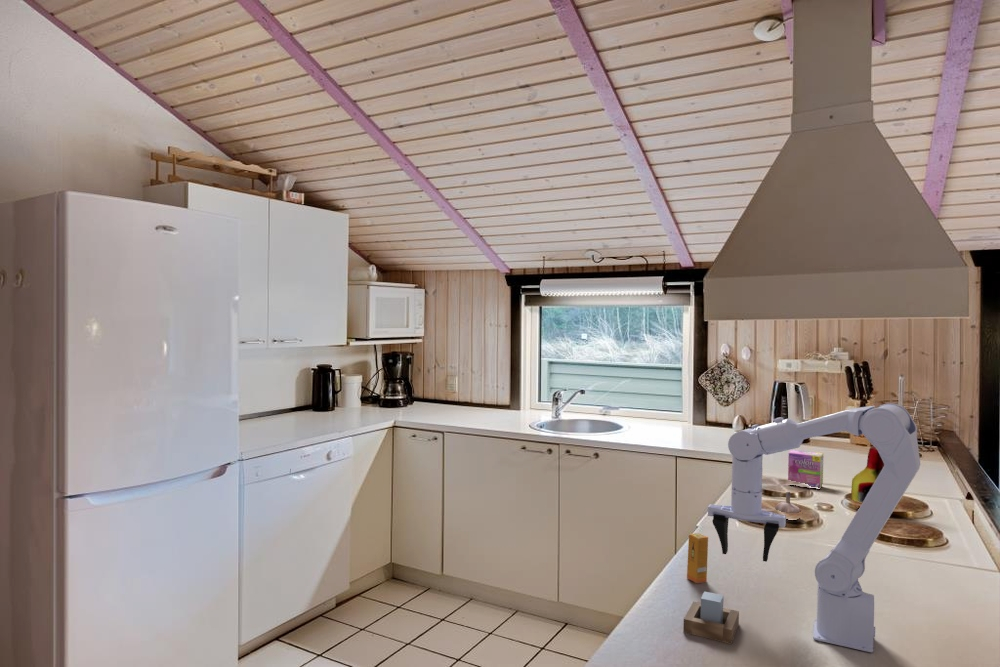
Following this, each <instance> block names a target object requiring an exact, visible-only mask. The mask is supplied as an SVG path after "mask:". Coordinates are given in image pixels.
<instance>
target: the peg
mask: <svg viewBox="0 0 1000 667" xmlns="http://www.w3.org/2000/svg"><path fill="white" fill-rule="evenodd" d="M700 603H701V618H700V619H702V620H706V621H711V622H715V623H719V624H723V608H724V594H720V593H719V594H718V593H714V592H708V591H703V593H702V595H701V597H700Z"/></svg>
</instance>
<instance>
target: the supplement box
mask: <svg viewBox="0 0 1000 667" xmlns="http://www.w3.org/2000/svg"><path fill="white" fill-rule="evenodd" d="M708 547H709V536H705V535H703V534H702V533H689V534H688V549H687V565H686V566H687V568H686V578H687V579H688V580H690V581H691V582H693V583H695V584H702V583H706V582H707V581H708V580H707V579H708V578H707V577H708V557H709V556H708V551H709V548H708Z"/></svg>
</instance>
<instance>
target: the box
mask: <svg viewBox="0 0 1000 667" xmlns="http://www.w3.org/2000/svg"><path fill="white" fill-rule="evenodd" d="M787 456H788V457H787V458H788V459H787V460H788V464H787V466H788V467H787V481H788V480H791V481H796V482H800V483H805V484H808V485H809V486H811V487H818V488H821V486H822V484H823V485H824V453H821V452H813V451H804V450H803V451H802V450H796V449H795V450H794V449H790V450H789V451H788V455H787ZM821 489H822V488H821Z"/></svg>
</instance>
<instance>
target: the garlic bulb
mask: <svg viewBox="0 0 1000 667" xmlns="http://www.w3.org/2000/svg"><path fill="white" fill-rule="evenodd" d="M775 509H776V510H779V511H781V512H786V513H799V512H801V511H802V509H801V508H799V506H797V505H795V504H794V503H791V491H787V492H786V495H785V501H781V502H779V503H777V504H776V505H775V507H774V510H775Z"/></svg>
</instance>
